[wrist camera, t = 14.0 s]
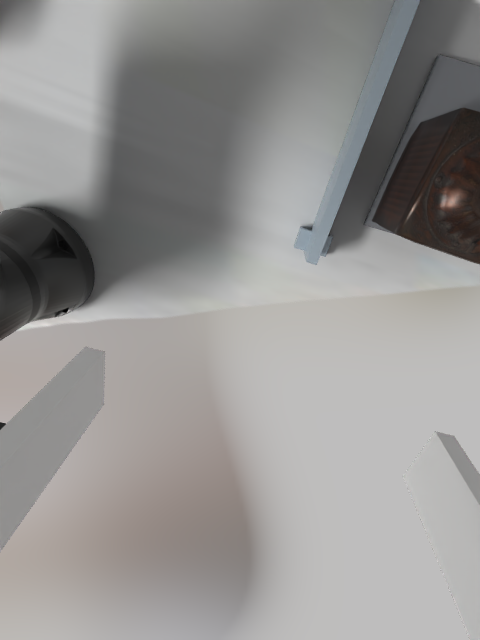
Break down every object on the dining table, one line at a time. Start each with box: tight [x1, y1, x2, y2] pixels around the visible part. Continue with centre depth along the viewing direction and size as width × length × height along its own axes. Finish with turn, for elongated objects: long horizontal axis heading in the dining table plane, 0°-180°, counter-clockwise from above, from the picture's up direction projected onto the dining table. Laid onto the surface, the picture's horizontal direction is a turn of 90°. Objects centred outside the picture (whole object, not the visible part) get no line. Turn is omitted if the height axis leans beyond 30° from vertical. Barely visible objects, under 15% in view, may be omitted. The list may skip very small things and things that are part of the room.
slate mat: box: [364, 55, 480, 234], centre depth 33 cm, size 12×16×1 cm
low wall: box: [294, 0, 420, 265], centre depth 30 cm, size 4×28×5 cm, turn 165°
